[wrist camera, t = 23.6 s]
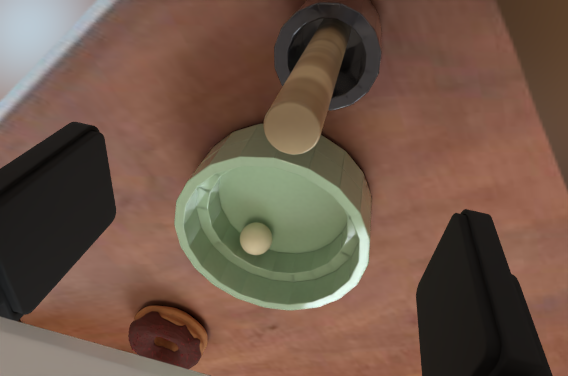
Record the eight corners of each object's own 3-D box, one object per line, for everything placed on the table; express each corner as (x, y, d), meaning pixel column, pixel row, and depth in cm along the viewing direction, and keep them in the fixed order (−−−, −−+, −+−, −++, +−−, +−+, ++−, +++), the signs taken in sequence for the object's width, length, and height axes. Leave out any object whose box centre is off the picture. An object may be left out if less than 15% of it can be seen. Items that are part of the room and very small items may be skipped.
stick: (317, 17, 26) (252, 113, 13) (345, 4, 25) (306, 92, 13) (328, 46, 27) (278, 161, 14) (356, 34, 26) (329, 145, 13)
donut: (180, 292, 47) (165, 320, 44) (225, 343, 51) (214, 372, 48) (122, 308, 51) (105, 334, 48) (168, 354, 55) (155, 380, 52)
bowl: (172, 148, 35) (138, 184, 30) (338, 96, 29) (329, 131, 25) (245, 271, 42) (227, 317, 38) (391, 249, 37) (392, 300, 32)
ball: (258, 210, 36) (235, 230, 35) (282, 233, 36) (259, 254, 34) (253, 224, 39) (231, 243, 37) (275, 245, 38) (253, 266, 37)
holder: (280, 7, 27) (257, 27, 22) (366, -30, 25) (362, -17, 20) (310, 88, 30) (296, 122, 25) (391, 62, 27) (392, 93, 22)
